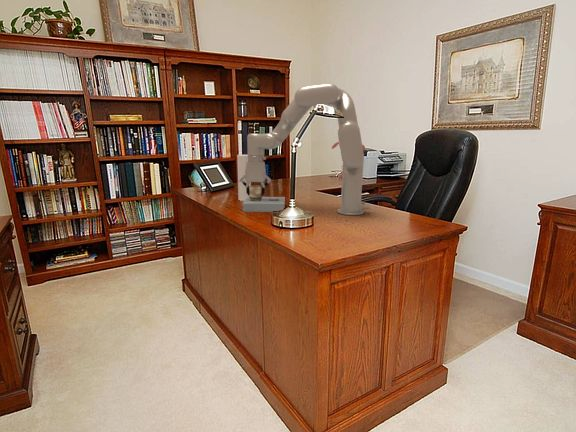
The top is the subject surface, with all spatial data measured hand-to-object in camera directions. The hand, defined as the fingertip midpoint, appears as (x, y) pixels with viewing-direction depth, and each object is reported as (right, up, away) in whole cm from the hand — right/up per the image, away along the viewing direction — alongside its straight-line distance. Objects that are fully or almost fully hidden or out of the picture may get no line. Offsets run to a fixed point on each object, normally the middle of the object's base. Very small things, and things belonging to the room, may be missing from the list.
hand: (255, 194), depth 176 cm
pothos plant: (+63, +18, +103) cm, 122 cm away
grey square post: (-8, -2, +22) cm, 24 cm away
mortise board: (+5, -6, +2) cm, 8 cm away
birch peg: (0, -5, +1) cm, 6 cm away
